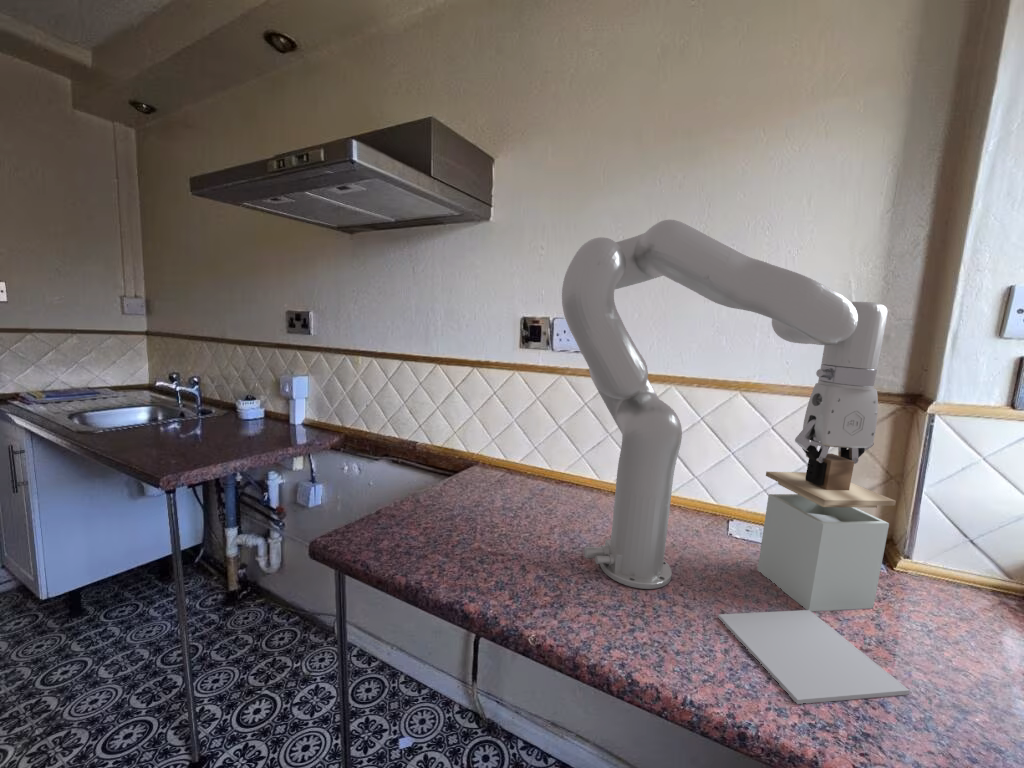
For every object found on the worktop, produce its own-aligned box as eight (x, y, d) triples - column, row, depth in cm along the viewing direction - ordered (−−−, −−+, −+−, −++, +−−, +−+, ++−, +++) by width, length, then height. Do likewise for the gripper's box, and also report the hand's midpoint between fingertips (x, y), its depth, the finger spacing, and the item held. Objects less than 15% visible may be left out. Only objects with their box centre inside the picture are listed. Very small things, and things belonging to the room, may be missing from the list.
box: (808, 611, 74) (823, 524, 72) (757, 570, 86) (768, 494, 83) (873, 608, 76) (889, 523, 74) (814, 568, 88) (826, 494, 85)
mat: (797, 704, 55) (797, 699, 55) (718, 618, 71) (718, 614, 71) (908, 694, 58) (909, 690, 58) (808, 613, 73) (809, 609, 73)
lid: (823, 511, 71) (830, 469, 70) (764, 481, 83) (770, 445, 82) (893, 511, 73) (902, 470, 72) (826, 482, 86) (832, 447, 85)
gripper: (820, 378, 70) (800, 491, 73) (912, 383, 73) (889, 492, 76) (784, 372, 78) (767, 474, 80) (868, 377, 80) (850, 476, 83)
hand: (827, 482), depth 78 cm, fingers closed on lid, 4 cm apart
